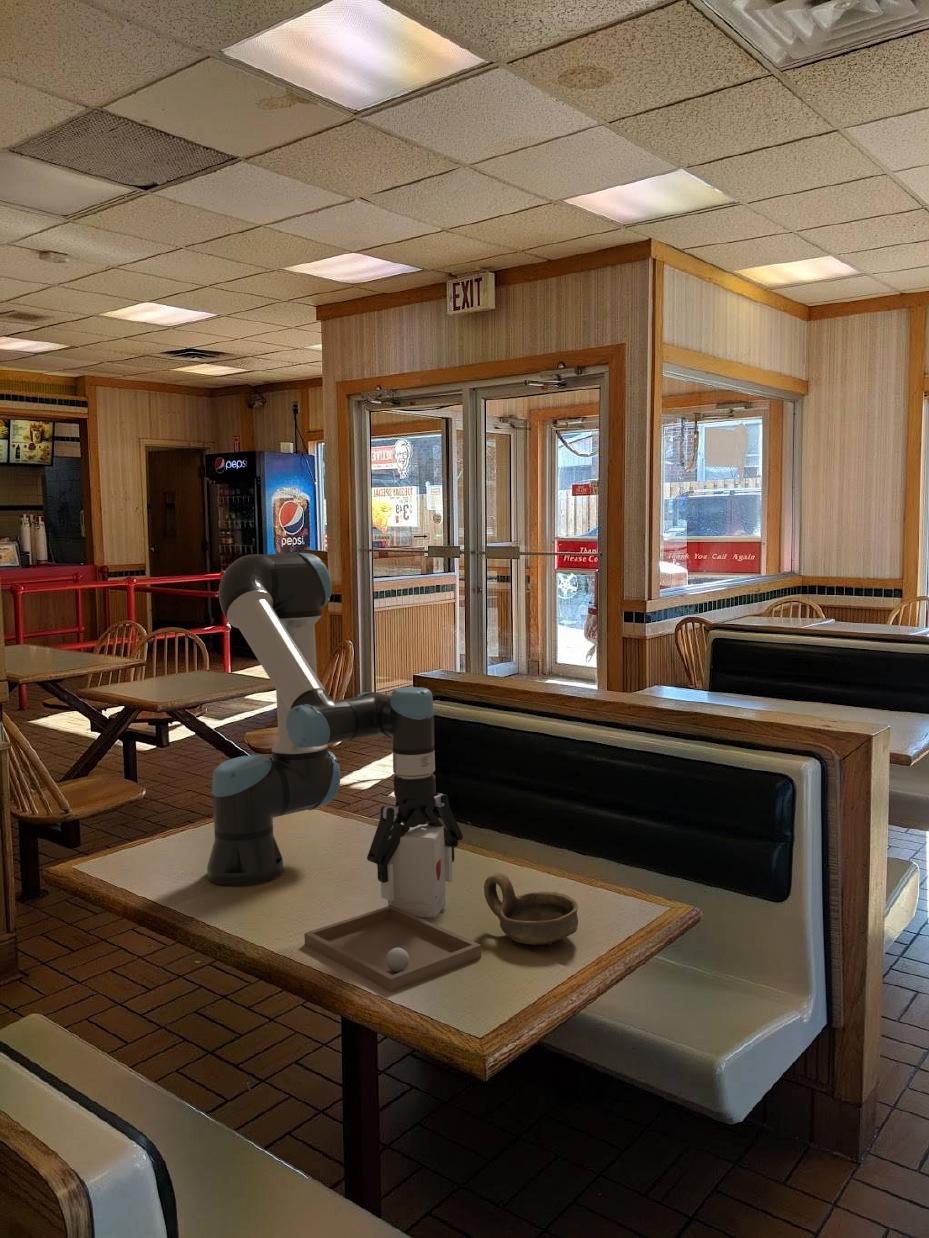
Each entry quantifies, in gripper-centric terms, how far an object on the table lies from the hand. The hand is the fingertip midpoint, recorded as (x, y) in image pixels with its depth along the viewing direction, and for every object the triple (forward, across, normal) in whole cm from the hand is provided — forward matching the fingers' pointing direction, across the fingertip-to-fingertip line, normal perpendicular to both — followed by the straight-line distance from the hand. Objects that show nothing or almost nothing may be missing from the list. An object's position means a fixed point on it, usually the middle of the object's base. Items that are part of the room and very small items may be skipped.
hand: (417, 889), depth 183 cm
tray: (+4, -15, -12) cm, 20 cm away
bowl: (+4, +6, -23) cm, 24 cm away
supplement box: (+4, 0, 0) cm, 4 cm away
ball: (+3, -19, -19) cm, 27 cm away
